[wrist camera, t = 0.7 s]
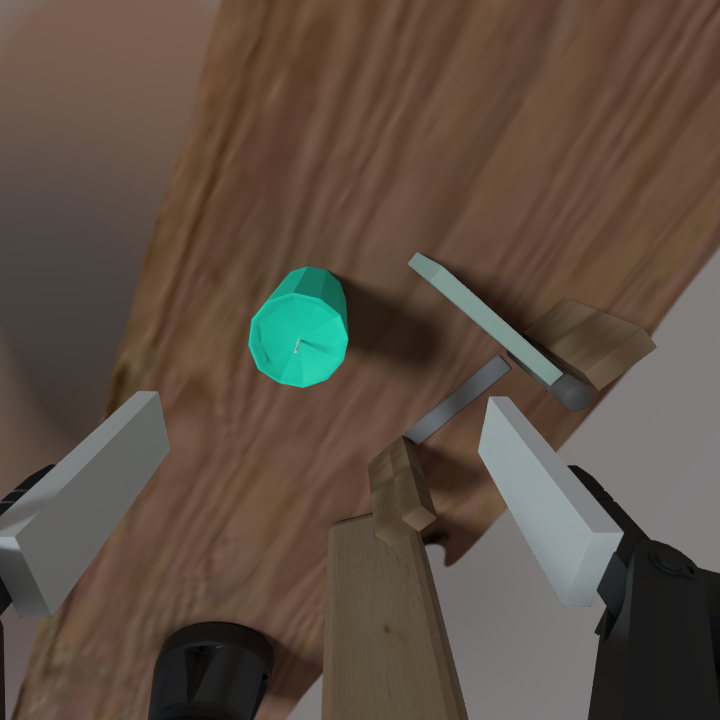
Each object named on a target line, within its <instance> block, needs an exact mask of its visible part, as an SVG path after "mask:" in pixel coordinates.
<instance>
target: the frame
mask: <svg viewBox="0 0 720 720" xmlns="http://www.w3.org/2000/svg"><path fill="white" fill-rule="evenodd" d="M524 334H525V335H526V336H527V337H528V338H529V340H530V341H531V342H532V343H533V344H534V345H535V346H536V347H537V348H538V349H540V350H541V351H543V352H544V353H545V354H547V355H548V356H550V357H551V358H553V359H554V360H555V361H557V362H558V363H560V364H561V365H562V366H564V367H565V368H567V369H568V370H570V371H571V372H572V373H574V374H575V375H577V376H578V377H580V378H581V379H582V380H584V381H585V382H587V383H588V384H590V385H591V386H592V387H594V388H595V389H597V390H598V391H599V390H601V389H602V388H603V387H605V386H606V385H607V384H609V383H610V382H611V381H613V380H614V379H615V378H617V377H618V376H619V375H621V374H622V373H623V372H625V371H626V370H627V369H629V368H630V367H631V366H633V365H634V364H635V363H637V362H638V361H639V360H641V359H642V358H643V357H645V356H646V355H647V354H649V353H650V352H651V351H653V350H654V349H655V348H656V345H655V344H654V342H653V341H652V339H651V338H650V337H649V335H648V334H647V332H646V331H645V330H644V328H642V327H640V326H637V325H635V324H632V323H630V322H627V321H624V320H622V319H619V318H617V317H614V316H612V315H609V314H607V313H604V312H601V311H599V310H596V309H594V308H591V307H589V306H586V305H584V304H581V303H578V302H576V301H573V300H571V299H568V298H566V297H565V298H564V299H563V300H561V301H560V302H559V303H558V304H557V305H556V306H554V307H553V308H552V309H551V310H550V311H548V312H547V313H546V314H545V315H544V316H543V317H541V318H540V319H539V320H538V321H537V322H535V323H534V324H533V325H532V326H531V327H530V328H528V329H527V330H526V331H525V332H524ZM538 352H539V351H538ZM539 353H540V352H539ZM507 354H508V356H509V357H510V358H511V359H512V360H513V361H514V362H515V363H516V364H518V365H519V366H520V367H521V368H522V369H523V370H524V371H526V372H527V373H528V374H529V375H530V376H531V377H532V378H534V379H535V380H536V381H537V382H538V383H539V384H540V385H542V386H543V387H544V388H545V389H546V390H547V391H548V392H550V393H551V394H552V395H553V396H554V397H555V398H556V399H558V400H559V401H560V402H561V403H562V404H563V405H564V406H566V407H567V408H568V409H569V410H572V411H579V410H582V409H584V408H586V407H587V406H588V405H589V404H590V403H591V401H592V399H593V391H592V390H591V389H590V388H589V387H588V386H586V385H585V384H584V383H582V382H581V381H579V380H578V379H577V378H575V377H574V376H572V375H571V374H570V373H568V372H567V371H565V370H564V369H563V368H561V367H560V366H558V365H557V364H556V363H554V362H553V361H551V360H550V359H549V358H547V357H546V356H544V355H543V354H542V353H541V354H542V355H543V356H544V357H545V358H546V359H547V360H548V361H550V362H551V363H552V364H553V365H554V366H555V367H556V368H557V369H559V370H560V371H561V372H562V373H563V375H561V376H560V377H559V378H558V379H557V380H556V381H555V382H554V383H553V384H552V385H551V386H550V385H549V384H548V383H546V382H545V381H544V380H543V379H542V378H540V377H539V376H538V375H537V374H536V373H534V372H533V371H532V370H531V369H530V368H529V367H527V366H526V365H525V364H524V363H523V362H521V361H520V360H519V359H518V358H517V357H515V356H514V355H513V354H512V353H511V352H509V351H508V350H507ZM510 369H511V368H510V367H509V366H508V365H507V364H506V363H505V362H504V360H503V359H502V358H501V357H500V356H499V355H496V356H495V357H494V358H493V359H492V360H491V361H489V362H488V363H487V364H486V365H485V366H483V367H482V368H481V369H480V370H479V371H478V372H476V373H475V374H474V375H473V376H472V377H470V378H469V379H468V380H467V381H466V382H464V383H463V384H462V385H461V386H460V387H459V388H457V389H456V390H455V391H454V392H453V393H451V394H450V395H449V396H448V397H447V398H446V399H444V400H443V401H442V402H441V403H440V404H438V405H437V406H436V407H435V408H434V409H433V410H431V411H430V412H429V413H428V414H427V415H425V416H424V417H423V418H422V419H421V420H420V421H418V422H417V423H416V424H415V425H414V426H412V427H411V428H410V429H409V430H408V431H407V432H405V435H407V436H408V437H409V438H410V439H411V440H412V441H414V442H415V443H416V444H417V445H419V444H420V443H422V442H423V441H424V440H425V439H426V438H428V437H429V436H430V435H431V434H432V433H434V432H435V431H436V430H437V429H439V428H440V427H441V426H442V425H443V424H445V423H446V422H447V421H448V420H449V419H451V418H452V417H453V416H454V415H456V414H457V413H458V412H459V411H460V410H462V409H463V408H464V407H465V406H466V405H468V404H469V403H470V402H471V401H473V400H474V399H475V398H476V397H477V396H479V395H480V394H481V393H482V392H483V391H485V390H486V389H487V388H488V387H490V386H491V385H492V384H493V383H494V382H496V381H497V380H498V379H499V378H500V377H502V376H503V375H504V374H505V373H507V372H508V371H509V370H510ZM368 473H369V482H370V491H371V501H372V510H373V519H374V529H375V535H376V536H377V537H379V538H380V539H382V540H383V541H384V542H386V543H387V544H389V545H390V546H393V545H394V544H395V543H397V542H398V541H399V540H401V539H402V538H403V537H405V536H406V535H407V534H409V533H410V532H411V531H413V530H414V529H416V530H417V531H421V530H422V529H423V528H425V527H426V526H427V525H429V524H430V523H431V522H433V521H434V520H435V519H437V515H436V512H435V509H434V506H433V502H432V499H431V496H430V493H429V490H428V487H427V483H426V480H425V477H424V474H423V471H422V467H421V464H420V461H419V458H418V455H417V452H416V448H415V446H414V445H413V444H412V443H410V442H409V441H408V440H407V439H406V438H405V437H403V436H401V437H399V438H398V439H397V440H396V441H395V442H394V443H392V444H391V445H390V446H389V447H388V448H386V449H385V450H384V451H383V452H382V453H381V454H379V455H378V456H377V457H376V458H375V459H373V460H372V461H371V462H370V463H369V464H368Z"/></svg>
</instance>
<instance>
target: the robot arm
mask: <svg viewBox="0 0 720 720" xmlns="http://www.w3.org/2000/svg"><path fill="white" fill-rule="evenodd" d="M169 451H170V446H169V441H168V436H167V432H166V427H165V422H164V417H163V412H162V407H161V403H160V398H159V393H158V392H152V391H138V392H137V393H135V394H134V395H133V396H132V397H131V398H130V399H129V400H128V401H127V402H126V403H124V404H123V405H122V406H121V407H120V408H119V409H118V410H117V411H116V412H115V413H113V414H112V415H111V416H110V417H109V418H108V419H107V420H106V421H105V422H104V423H102V424H101V425H100V426H99V427H98V428H97V429H96V430H95V431H94V432H93V433H91V434H90V435H89V436H88V437H87V438H86V439H85V440H84V441H83V442H82V443H81V444H80V445H78V446H77V447H76V448H75V449H74V450H73V451H72V452H71V453H69V454H68V455H67V456H66V457H65V458H64V459H63V460H62V461H61V462H60V463H58V465H48V466H47V467H45V468H43V469H41V470H40V471H38V472H36V473H34V474H33V475H31V476H29V477H28V478H27V479H26V480H25V481H24V482H23V483H21V484H20V485H19V486H18V487H17V488H15V489H14V492H11V493H10V494H8V495H7V496H6V497H5V498H4V499H3V500H1V503H0V615H1V614H2V613H3V612H4V611H5V609H6V608H7V607H8V606H9V605H10V603H11V602H12V603H13V605H14V607H15V609H16V611H17V613H18V615H19V616H20V618H21V617H53V615H54V614H55V612H56V611H57V610H58V608H59V607H60V605H61V604H62V603H63V601H64V600H65V598H66V597H67V595H68V594H69V593H70V591H71V590H72V588H73V587H74V586H75V584H76V583H77V581H78V580H79V578H80V577H81V576H82V574H83V573H84V571H85V570H86V569H87V567H88V566H89V564H90V563H91V561H92V560H93V559H94V557H95V556H96V554H97V553H98V552H99V550H100V549H101V547H102V546H103V544H104V543H105V542H106V540H107V539H108V537H109V536H110V535H111V533H112V532H113V530H114V529H115V527H116V526H117V525H118V523H119V522H120V520H121V519H122V517H123V516H124V515H125V513H126V512H127V510H128V509H129V508H130V506H131V505H132V503H133V502H134V500H135V499H136V498H137V496H138V495H139V493H140V492H141V491H142V489H143V488H144V486H145V485H146V483H147V482H148V481H149V479H150V478H151V476H152V475H153V474H154V472H155V471H156V469H157V468H158V466H159V465H160V464H161V462H162V461H163V459H164V458H165V457H166V455H167V454H168V452H169ZM478 453H479V454H480V456H481V458H482V460H483V462H484V464H485V465H486V467H487V469H488V471H489V473H490V475H491V476H492V478H493V480H494V482H495V484H496V486H497V487H498V489H499V491H500V493H501V495H502V497H503V498H504V500H505V502H506V504H507V506H508V508H509V509H510V511H511V513H512V515H513V517H514V519H515V520H516V522H517V524H518V526H519V528H520V530H521V531H522V533H523V535H524V537H525V539H526V540H527V542H528V544H529V546H530V548H531V550H532V552H533V553H534V555H535V557H536V559H537V561H538V563H539V565H540V566H541V568H542V570H543V572H544V574H545V576H546V577H547V579H548V581H549V583H550V585H551V586H552V588H553V590H554V592H555V594H556V596H557V598H558V599H559V601H560V603H561V605H562V607H590V606H591V604H592V602H593V600H594V597H595V595H596V593H597V592H598V593H599V595H600V596H601V598H602V599H603V601H604V603H605V604H606V606H607V607H606V609H605V611H604V614H603V615H602V617H601V619H600V622H599V624H598V626H597V628H596V630H595V633H596V634H597V635H600V638H599V645H598V652H597V659H596V667H595V673H594V681H593V687H592V695H591V701H590V709H589V715H588V720H720V573H716V572H712V571H709V570H705V569H701V568H698V567H697V566H696V565H695V564H694V562H693V561H692V560H690V559H689V558H688V557H687V556H685V555H684V554H683V553H682V552H680V551H678V550H677V549H675V548H673V547H671V546H669V545H667V544H664V543H661V542H658V541H655V540H650V538H649V537H648V536H647V535H646V534H645V533H644V532H643V531H642V530H641V529H640V528H639V526H638V525H637V524H636V523H635V522H634V521H633V520H632V519H631V518H630V517H629V516H628V514H626V512H625V511H624V510H623V509H622V508H621V507H620V506H619V505H618V504H617V503H616V502H614V501H613V498H612V497H611V496H610V495H609V494H608V493H607V492H606V491H604V488H603V487H602V486H601V485H600V484H599V483H598V482H597V481H596V480H595V478H593V476H591V475H590V474H588V473H587V472H585V471H584V470H583V469H581V468H580V467H578V466H575V465H571V466H570V465H569V466H567V465H566V464H565V463H564V462H563V461H562V460H561V458H560V457H559V456H558V455H557V454H556V452H555V451H554V450H553V449H552V448H551V447H550V445H549V444H548V443H547V442H546V441H545V440H544V438H543V437H542V436H541V435H540V434H539V433H538V431H537V430H536V429H535V428H534V427H533V426H532V424H531V423H530V422H529V421H528V420H527V419H526V417H525V416H524V415H523V414H522V413H521V412H520V410H519V409H518V408H517V407H516V406H515V405H514V403H513V402H512V401H511V400H510V399H509V398H508V397H495V396H489V401H488V406H487V411H486V416H485V420H484V425H483V430H482V435H481V440H480V444H479V449H478ZM3 635H4V634H3V625H2V623H1V620H0V720H5V683H4V682H5V679H4V636H3ZM273 662H274V654H273V651H272V648H271V647H270V645H269V644H268V642H267V641H266V640H265V639H264V638H262V637H261V636H260V635H258V634H257V633H255V632H253V631H251V630H249V629H246V628H243V627H240V626H237V625H232V624H225V623H203V624H197V625H193V626H189V627H186V628H183V629H181V630H179V631H177V632H175V633H174V634H173V635H171V636H170V637H169V638H168V639H167V640H166V641H165V643H164V644H163V646H162V649H161V651H160V654H159V656H158V659H157V661H156V664H155V668H154V673H153V681H152V689H151V697H150V706H149V714H148V720H254V719H255V716H256V714H257V712H258V709H259V707H260V705H261V702H262V700H263V698H264V695H265V693H266V690H267V688H268V686H269V683H270V680H271V675H272V669H273Z"/></svg>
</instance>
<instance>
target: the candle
mask: <svg viewBox="0 0 720 720" xmlns="http://www.w3.org/2000/svg"><path fill="white" fill-rule="evenodd" d="M347 343H348V324H347V308H346V298H345V295H344V292H343V289H342V286H341V283H340V282H339V281H338V280H337V279H336V278H335V277H334V276H332V275H331V274H330V273H329V272H328V271H327V270H324V269H319V268H314V267H310V266H307V267H304V268H301V269H298V270H295V271H292V272H290V273H289V274H288V276H287V277H286V278H285V279H284V280H283V282H282V283H281V284H280V285H279V287H278V288H277V289H276V290H275V292H274V293H273V294H272V295H271V296H270V298H269V299H268V300H267V301H266V303H265V304H264V305H263V306H262V308H261V309H260V310H259V311H258V313H257V314H256V315H255V316H254V318H253V319H252V323H251V330H250V338H249V347H250V350H251V352H252V355H253V357H254V360H255V362H256V365H257V367H258V369H259V370H260V371H262V372H263V373H265V374H266V375H268V376H269V377H271V378H272V379H274V380H275V381H277V382H278V383H282V384H288V385H293V386H298V387H303V388H304V387H307V386H310V385H313V384H316V383H319V382H322V381H325V380H327V379H328V378H329V377H330V376H331V374H332V373H333V372H334V371H335V370H336V369H337V367H338V366H339V365H340V364H341V363H342V362H343V360H344V356H345V352H346V347H347Z"/></svg>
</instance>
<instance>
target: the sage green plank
mask: <svg viewBox="0 0 720 720" xmlns="http://www.w3.org/2000/svg"><path fill="white" fill-rule="evenodd" d="M408 265H409V266H410V267H412V268H413V269H414V270H415V271H416V272H417V273H419V274H420V275H421V276H422V277H423V278H424V279H426V280H427V281H428V282H429V283H430V284H431V285H433V286H434V287H435V288H436V289H437V290H438V291H440V292H441V293H442V294H443V295H444V296H445V297H447V298H448V299H449V300H450V301H451V302H452V303H454V304H455V305H456V306H457V307H458V308H459V309H460V310H462V311H463V312H464V313H465V314H466V315H467V316H469V317H470V318H471V319H472V320H473V321H474V322H476V323H477V324H478V325H479V326H480V327H481V328H483V329H484V330H485V331H486V332H487V333H488V334H490V335H491V336H492V337H493V338H494V339H495V340H497V341H498V342H499V343H500V344H501V345H502V346H504V347H505V348H506V349H507V350H508V351H509V352H511V353H512V354H513V355H514V356H515V357H517V358H518V359H519V360H520V361H521V362H523V363H524V364H525V365H526V366H527V367H529V368H530V369H531V370H532V371H533V372H534V373H536V374H537V375H538V376H539V377H540V378H542V379H543V380H544V381H545V382H546V383H548V384H549V385H550V386H551V385H552V384H553V383H554V382H555V381H556V380H557V379H558V378H559V377H560V376H561V375H563V373H562V372H561V371H560V370H559V369H557V368H556V367H555V366H554V365H553V364H552V363H551V362H550V361H548V360H547V359H546V358H545V357H544V356H543V355H542V354H541V353H539V352H538V351H537V350H536V349H535V348H534V347H533V346H532V345H530V344H529V343H528V342H527V341H526V340H525V339H524V338H523V337H521V336H520V335H519V334H518V333H517V332H516V331H515V330H514V329H512V328H511V327H510V326H509V325H508V324H507V323H506V322H505V321H503V320H502V319H501V318H500V317H499V316H498V315H497V314H496V313H494V312H493V311H492V310H491V309H490V308H489V307H488V306H487V305H485V304H484V303H483V302H482V301H481V300H480V299H479V298H478V297H476V296H475V295H474V294H473V293H472V292H471V291H470V290H469V289H467V288H466V287H465V286H464V285H463V284H462V283H461V282H460V281H458V280H457V279H456V278H455V277H454V276H453V275H452V274H451V273H449V272H448V271H447V270H446V269H445V268H444V267H443V266H441V265H439V264H437V263H436V262H434V261H432V260H430V259H428V258H427V257H425V256H423V255H421V254H419V253H418V252H417V253H416V254H415V255H414V256H413V258H412V259H411V260H410V261H409V263H408Z"/></svg>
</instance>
